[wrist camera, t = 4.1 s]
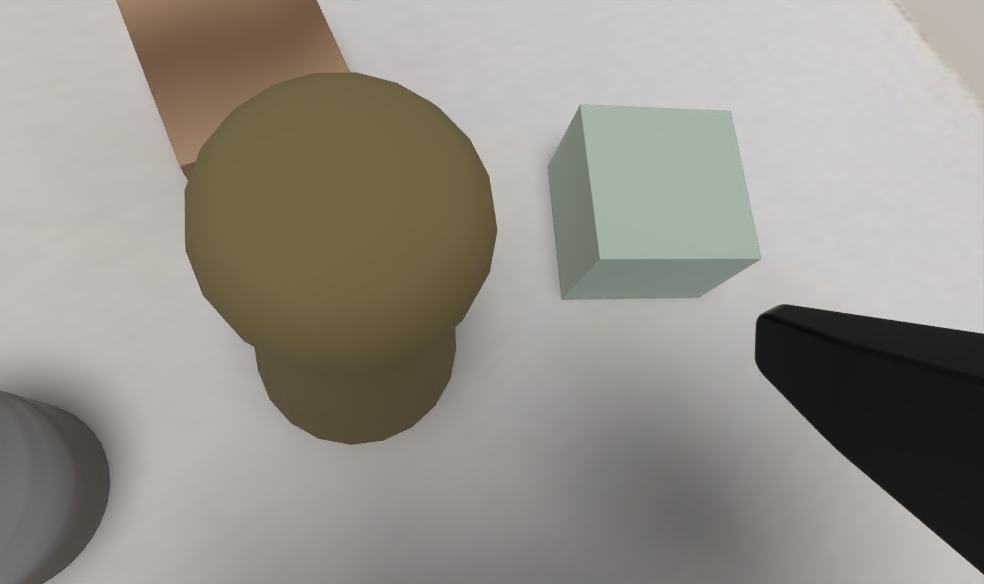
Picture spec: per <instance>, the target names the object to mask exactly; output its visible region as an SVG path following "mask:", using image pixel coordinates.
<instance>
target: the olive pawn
mask: <svg viewBox="0 0 984 584" xmlns="http://www.w3.org/2000/svg"><path fill="white" fill-rule="evenodd" d="M496 234H497V225H496V218H495V211H494V205H493V198H492V192H491V186H490V179H489V175H488V173H487V171H486V169H485V167H484V165H483V164H482V162H481V160H480V158H479V156H478V154H477V152H476V150H475V148H474V146H473V144H472V142H471V140H470V139H469V138H468V137H467V136H466V135H465V134H464V133H463V132H462V131H461V130H460V129H459V128H458V127H457V125H456V124H455V123H454V122H453V121H452V120H451V119H450V118H449V117H448V116H447V115H446V114H445V113H444V112H443V111H442V110H441V109H440V108H438V107H437V106H436V105H434V104H433V103H431V102H430V101H428V100H426V99H424V98H423V97H421V96H419V95H417V94H415V93H414V92H412V91H410V90H408V89H407V88H405V87H403V86H401V85H400V84H398V83H395V82H391V81H387V80H383V79H379V78H375V77H371V76H368V75H364V74H360V73H312V74H308V75H305V76H301V77H298V78H294V79H291V80H287V81H284V82H280V83H277V84H273V85H271V86H270V87H268V88H267V89H265V90H263V91H262V92H260V93H259V94H257V95H255V96H254V97H252V98H251V99H249V100H248V101H246V102H244V103H243V104H241V105H240V106H238V107H237V108H235V109H234V110H233V111H232V112H231V113H230V114H229V115H228V116H227V117H226V118H225V120H224V121H223V122H222V123H221V124H220V125H219V127H218V128H217V129H216V130H215V131H214V133H213V134H212V135H211V136H210V137H209V139H208V140H207V141H206V142H205V143H204V145H203V146H202V147H201V148H200V151H199V154H198V156H197V159H196V162H195V164H194V167H193V170H192V172H191V175H190V178H189V180H188V183H187V186H186V188H185V245H186V253H187V255H188V258H189V260H190V263H191V266H192V268H193V271H194V273H195V276H196V278H197V281H198V283H199V286H200V289H201V291H202V294H203V296H204V297H205V298H206V299H207V300H208V301H209V302H210V304H211V305H212V306H213V307H214V308H215V309H216V310H217V311H218V313H219V314H220V315H221V316H222V317H223V318H224V319H225V320H226V322H227V323H228V324H229V325H230V326H231V327H232V328H233V329H234V331H235V332H236V333H237V334H238V335H239V336H240V337H241V338H242V339H243V341H245V342H247V343H248V344H250V345H252V346H254V347H255V353H256V359H257V365H258V371H259V373H260V376H261V378H262V381H263V383H264V386H265V388H266V391H267V393H268V396H269V398H270V400H271V401H272V402H273V403H274V404H275V406H276V407H277V408H278V409H279V410H280V411H281V412H282V413H283V415H284V416H285V417H286V418H287V419H288V420H289V421H290V423H292V424H294V425H296V426H297V427H299V428H301V429H303V430H304V431H306V432H308V433H310V434H312V435H313V436H315V437H317V438H319V439H324V440H329V441H334V442H340V443H345V444H350V445H352V444H359V443H367V442H375V441H382V440H385V439H387V438H389V437H391V436H394V435H396V434H398V433H400V432H402V431H404V430H406V429H408V428H411V427H413V426H414V425H415V424H416V423H417V422H418V421H419V420H420V419H421V418H422V417H423V416H424V415H425V414H426V413H428V412H429V411H430V410H431V409H432V408H433V407H434V406H435V405H436V403H437V401H438V400H439V398H440V396H441V394H442V392H443V391H444V389H445V387H446V385H447V383H448V382H449V380H450V377H451V372H452V366H453V361H454V356H455V351H456V343H455V327H456V326H457V325H458V324H459V323H460V322H461V321H462V320H463V318H464V317H465V315H466V313H467V311H468V310H469V308H470V306H471V304H472V303H473V301H474V299H475V297H476V296H477V294H478V292H479V290H480V289H481V287H482V285H483V283H484V282H485V280H486V278H487V276H488V274H489V273H490V267H491V262H492V256H493V251H494V245H495V240H496Z"/></svg>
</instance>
